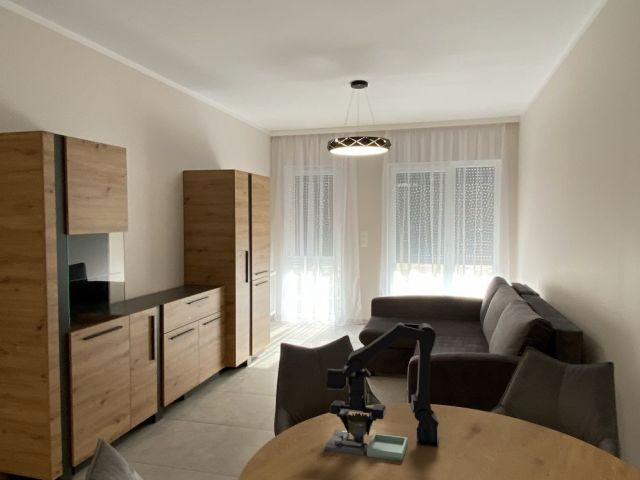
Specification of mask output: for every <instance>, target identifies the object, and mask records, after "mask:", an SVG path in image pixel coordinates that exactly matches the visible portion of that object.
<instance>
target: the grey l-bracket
mask: <svg viewBox="0 0 640 480" xmlns="http://www.w3.org/2000/svg"><path fill="white" fill-rule="evenodd" d="M337 434H341V435H343V438H347V439H349V437H350V435H351V434H350V433H348V432H347V430H339V429H335V430H334V432H333V433H332V434H331V437H330V438H329V439H328V440H327V442H326V443H325V445H324V451H327V452H334V453H341V454H342V453H343V454H350V455H356V456H364V454H365V452H366V451H367V447H368V443H366V442H363V443H362V445H361V446H354V445H346V444H335V441H334V436H335V435H337Z"/></svg>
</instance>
